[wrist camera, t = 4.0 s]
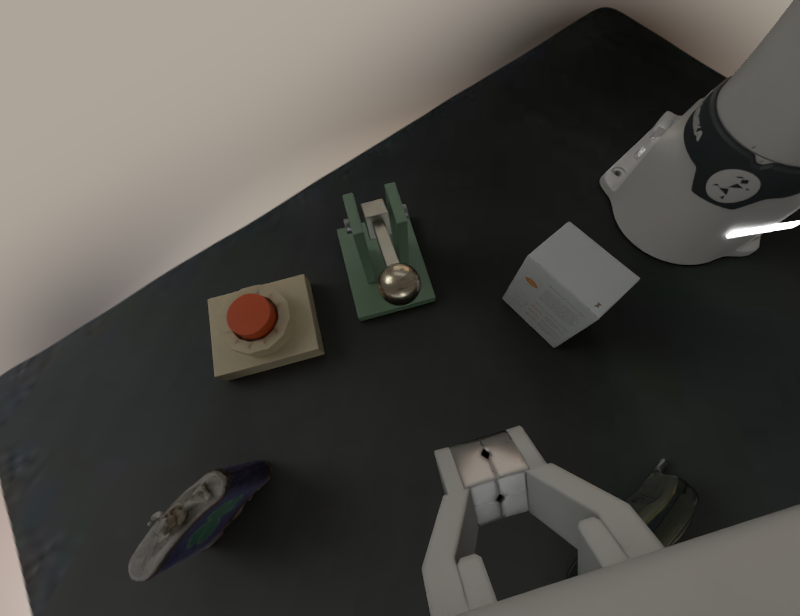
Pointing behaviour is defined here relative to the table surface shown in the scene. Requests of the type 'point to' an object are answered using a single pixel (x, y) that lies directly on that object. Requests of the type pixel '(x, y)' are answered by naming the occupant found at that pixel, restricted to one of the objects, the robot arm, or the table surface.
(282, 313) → the button housing
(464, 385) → the table surface
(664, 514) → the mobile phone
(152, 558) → the flask
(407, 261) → the switch bracket
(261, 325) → the button
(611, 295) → the small box
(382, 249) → the lever
